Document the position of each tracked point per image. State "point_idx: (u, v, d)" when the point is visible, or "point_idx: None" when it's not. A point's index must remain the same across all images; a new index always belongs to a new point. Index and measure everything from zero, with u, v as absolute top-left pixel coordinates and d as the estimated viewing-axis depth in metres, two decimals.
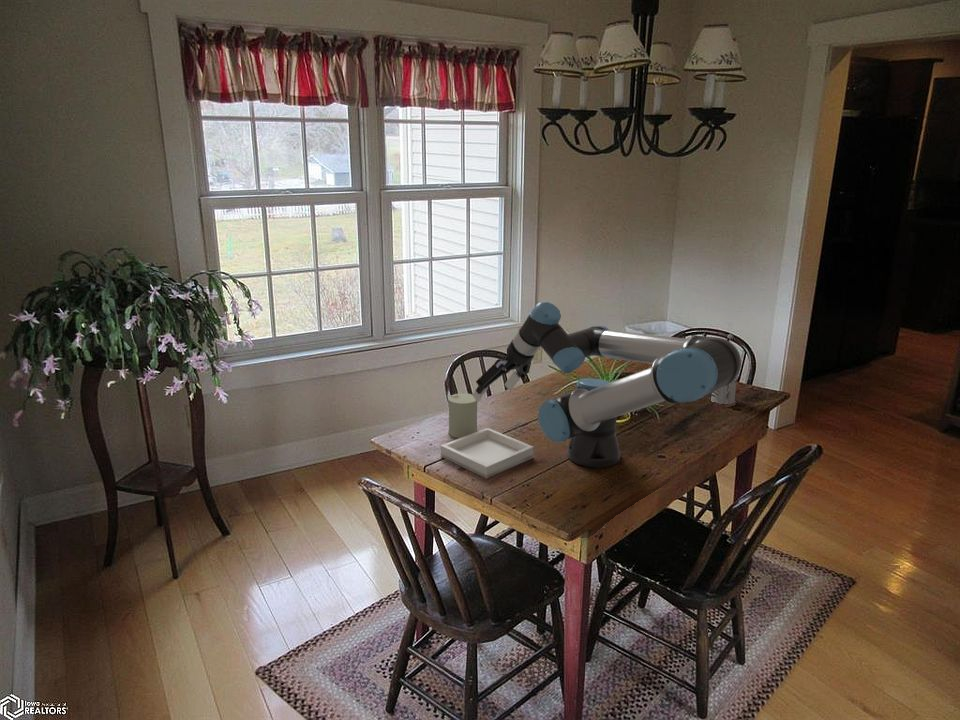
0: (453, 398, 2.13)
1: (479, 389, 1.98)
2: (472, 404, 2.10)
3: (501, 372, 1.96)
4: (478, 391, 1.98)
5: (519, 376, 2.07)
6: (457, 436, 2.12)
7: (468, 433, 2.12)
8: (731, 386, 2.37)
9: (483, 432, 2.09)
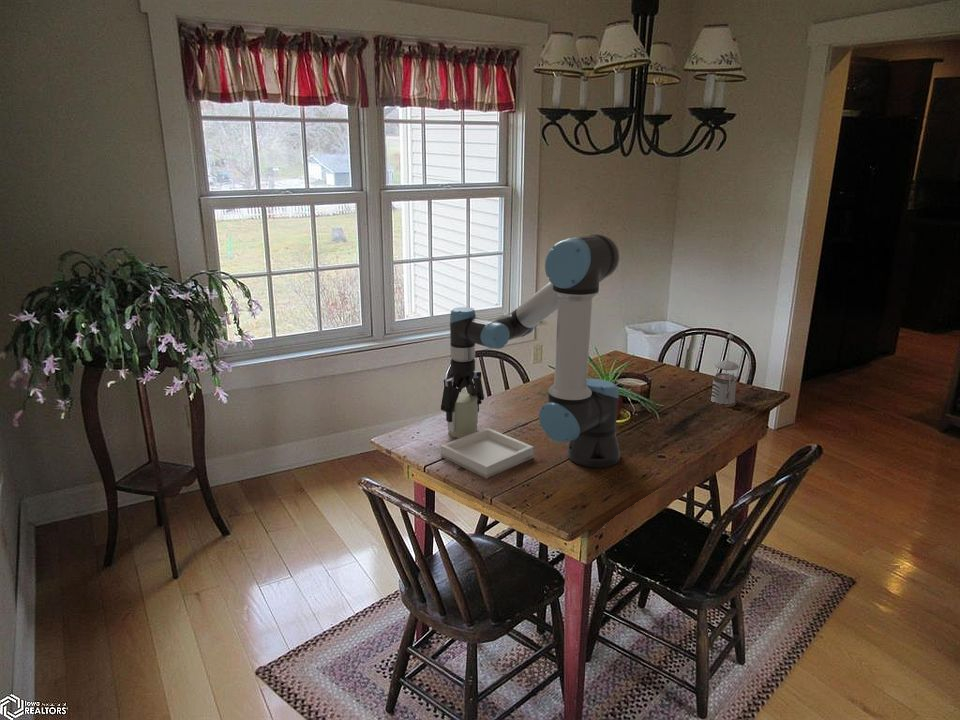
0: None
1: (448, 416, 2.10)
2: (472, 404, 2.10)
3: (456, 391, 2.09)
4: (448, 419, 2.10)
5: None
6: (457, 436, 2.12)
7: (468, 433, 2.12)
8: (731, 386, 2.37)
9: (483, 432, 2.09)
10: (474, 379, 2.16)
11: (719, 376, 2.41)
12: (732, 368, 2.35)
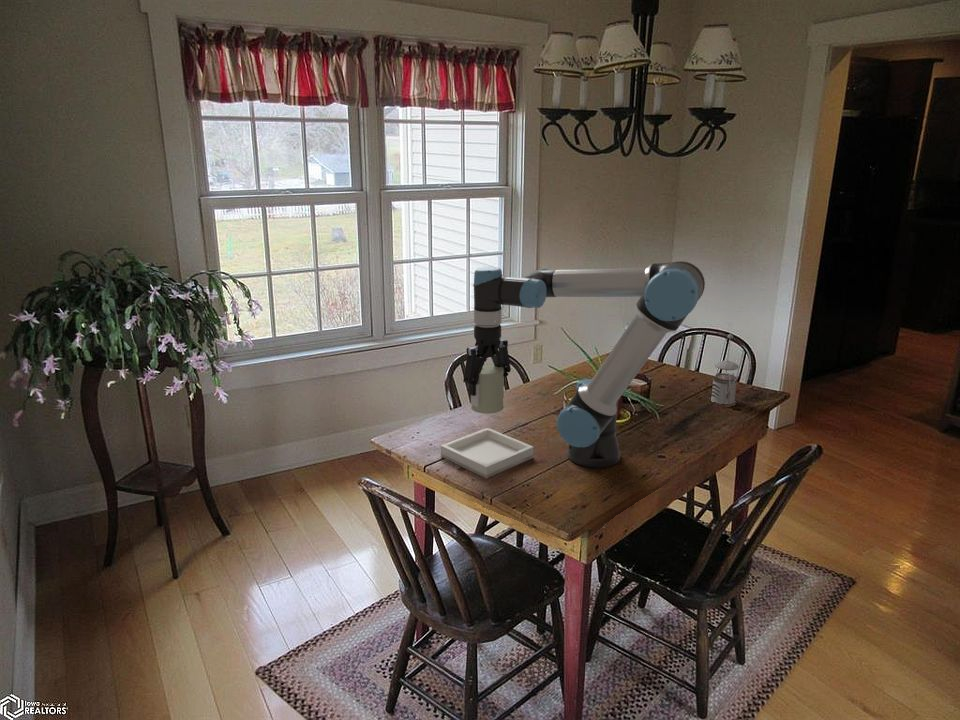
0: None
1: (471, 389, 1.89)
2: (497, 375, 1.89)
3: (480, 360, 1.88)
4: (471, 392, 1.89)
5: None
6: (481, 411, 1.91)
7: (493, 408, 1.91)
8: (731, 386, 2.37)
9: (483, 432, 2.09)
10: (500, 348, 1.94)
11: (719, 376, 2.41)
12: (732, 368, 2.35)
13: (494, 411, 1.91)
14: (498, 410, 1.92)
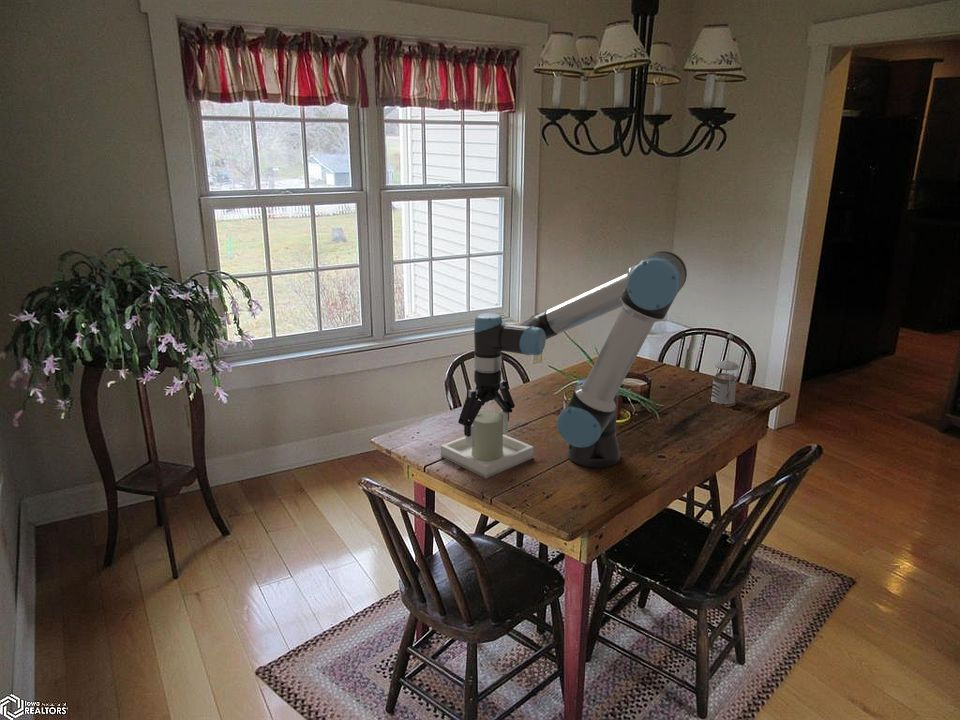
0: (477, 417, 1.96)
1: (466, 430, 1.91)
2: (497, 424, 1.93)
3: (478, 403, 1.91)
4: (466, 433, 1.91)
5: (506, 412, 2.00)
6: (481, 458, 1.95)
7: (493, 455, 1.95)
8: (731, 386, 2.37)
9: None
10: (501, 389, 1.98)
11: (719, 376, 2.41)
12: (732, 368, 2.35)
13: (494, 458, 1.95)
14: (498, 457, 1.96)
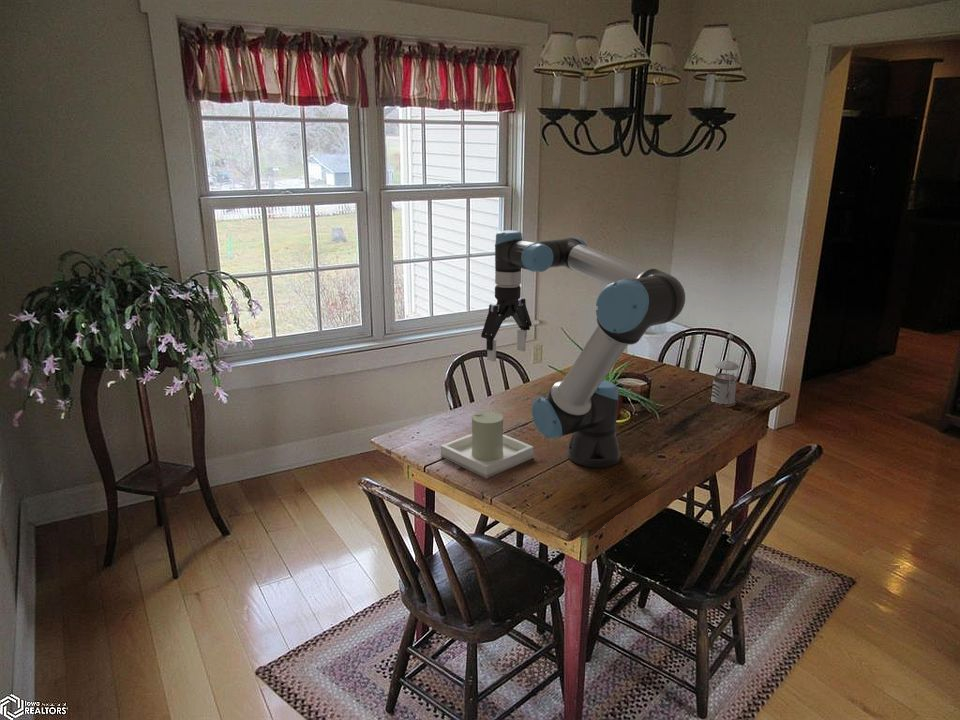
0: (477, 417, 1.96)
1: (488, 344, 1.97)
2: (497, 424, 1.93)
3: (500, 318, 1.97)
4: (489, 347, 1.97)
5: (524, 330, 2.07)
6: (481, 458, 1.95)
7: (493, 455, 1.95)
8: (731, 386, 2.37)
9: None
10: (519, 307, 2.05)
11: (719, 376, 2.41)
12: (732, 368, 2.35)
13: (494, 458, 1.95)
14: (498, 457, 1.96)
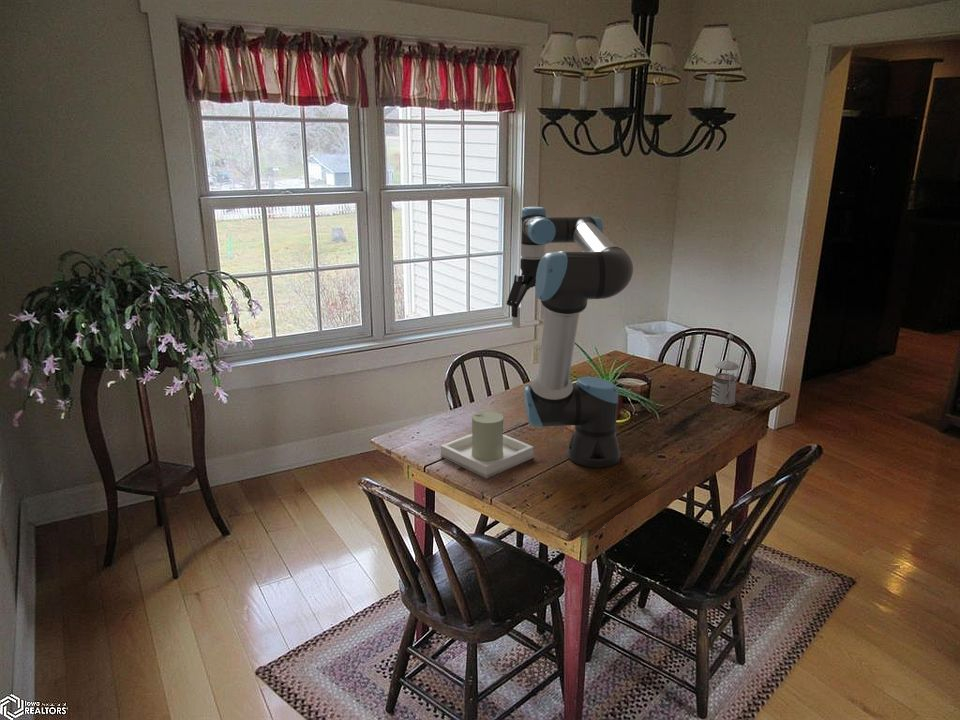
0: (477, 417, 1.96)
1: (513, 311, 2.14)
2: (498, 424, 1.93)
3: (524, 287, 2.14)
4: (513, 314, 2.14)
5: None
6: (481, 458, 1.95)
7: (493, 455, 1.95)
8: (731, 386, 2.37)
9: None
10: None
11: (719, 376, 2.41)
12: (732, 368, 2.35)
13: (494, 458, 1.95)
14: (498, 457, 1.96)
